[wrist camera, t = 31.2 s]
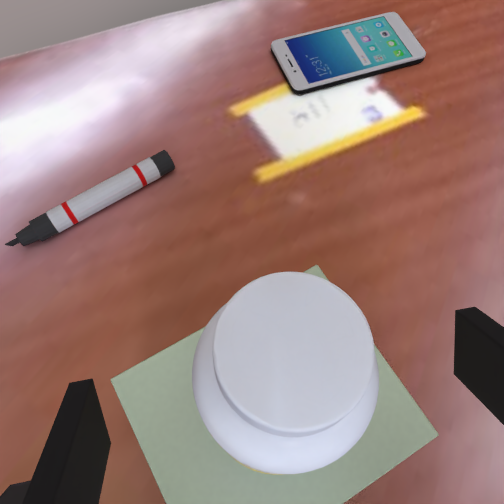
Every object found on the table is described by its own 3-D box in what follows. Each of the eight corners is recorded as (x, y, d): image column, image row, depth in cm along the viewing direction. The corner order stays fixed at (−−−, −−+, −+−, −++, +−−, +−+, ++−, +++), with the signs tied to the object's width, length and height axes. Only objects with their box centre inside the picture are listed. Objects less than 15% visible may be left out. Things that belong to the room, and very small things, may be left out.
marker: (165, 159, 43) (161, 145, 41) (176, 173, 42) (173, 159, 40) (8, 243, 39) (-4, 232, 37) (17, 260, 38) (6, 250, 36)
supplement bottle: (297, 325, 27) (337, 210, 15) (358, 436, 24) (462, 399, 12) (190, 377, 25) (144, 293, 14) (242, 500, 23) (239, 525, 11)
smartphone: (429, 55, 48) (295, 90, 45) (426, 62, 49) (294, 97, 46) (395, 10, 51) (268, 40, 48) (393, 16, 52) (268, 47, 49)
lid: (315, 269, 29) (317, 264, 28) (433, 436, 25) (439, 434, 24) (113, 381, 26) (110, 379, 25) (210, 595, 22) (209, 599, 21)
